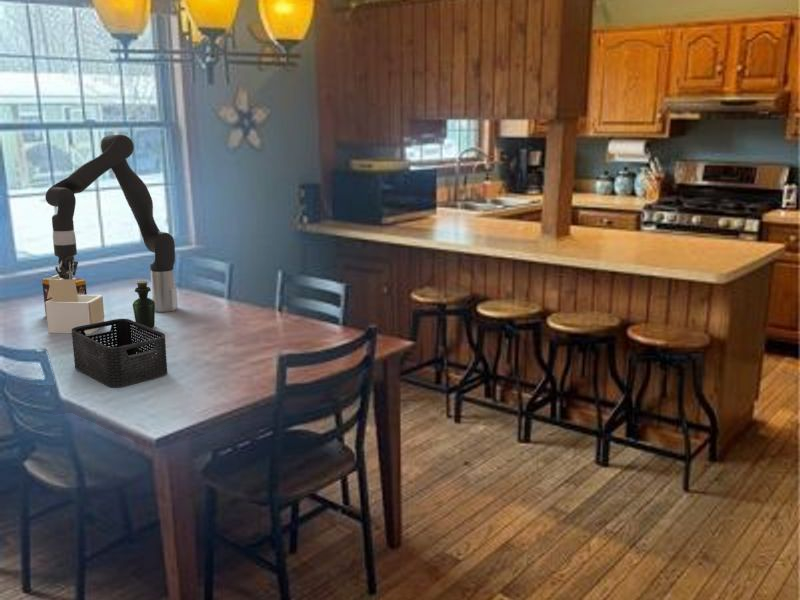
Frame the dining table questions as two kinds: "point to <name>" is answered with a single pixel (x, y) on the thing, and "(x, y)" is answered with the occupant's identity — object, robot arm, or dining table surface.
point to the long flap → (63, 290)
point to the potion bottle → (144, 306)
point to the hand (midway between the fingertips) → (69, 288)
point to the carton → (74, 314)
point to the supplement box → (79, 282)
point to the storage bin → (120, 353)
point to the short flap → (49, 287)
